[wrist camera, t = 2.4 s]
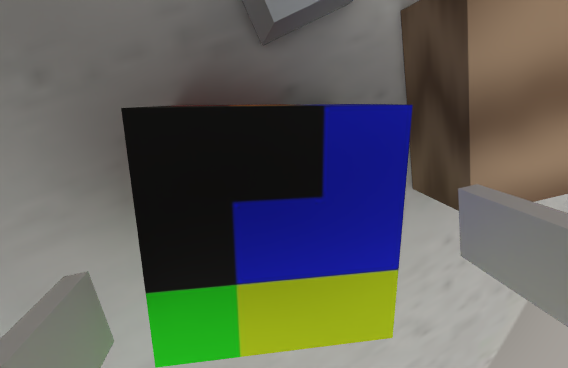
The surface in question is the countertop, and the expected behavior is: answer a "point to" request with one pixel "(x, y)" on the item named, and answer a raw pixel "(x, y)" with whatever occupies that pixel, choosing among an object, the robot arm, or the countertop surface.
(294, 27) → the slate block
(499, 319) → the countertop surface
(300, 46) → the countertop surface
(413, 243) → the countertop surface
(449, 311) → the countertop surface
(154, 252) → the puzzle toy
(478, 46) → the walnut block
